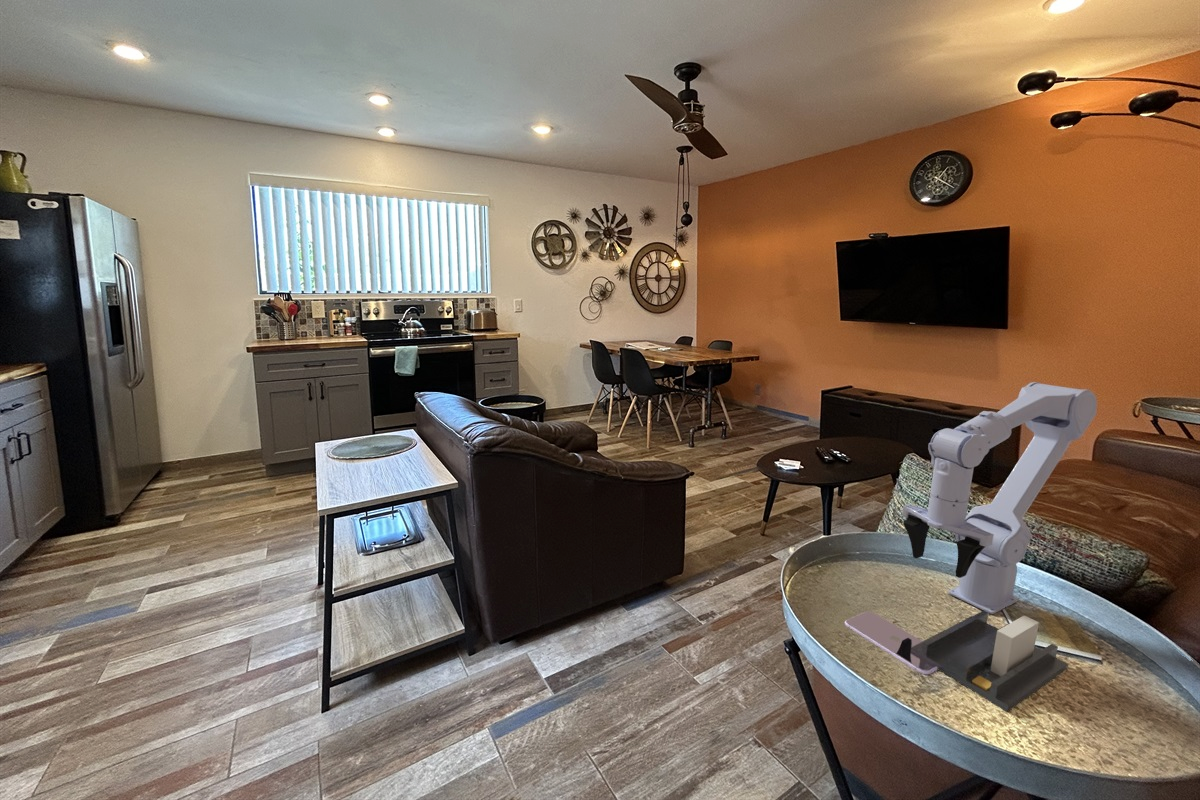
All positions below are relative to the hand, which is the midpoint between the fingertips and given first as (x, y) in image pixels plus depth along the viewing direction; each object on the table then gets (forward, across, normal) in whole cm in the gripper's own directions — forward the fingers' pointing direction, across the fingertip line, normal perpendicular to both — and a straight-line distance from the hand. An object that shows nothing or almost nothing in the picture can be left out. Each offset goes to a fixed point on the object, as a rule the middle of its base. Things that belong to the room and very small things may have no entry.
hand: (938, 565), depth 95 cm
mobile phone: (+10, +2, -14) cm, 17 cm away
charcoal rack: (+9, +12, -6) cm, 16 cm away
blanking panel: (+8, +15, -5) cm, 18 cm away
